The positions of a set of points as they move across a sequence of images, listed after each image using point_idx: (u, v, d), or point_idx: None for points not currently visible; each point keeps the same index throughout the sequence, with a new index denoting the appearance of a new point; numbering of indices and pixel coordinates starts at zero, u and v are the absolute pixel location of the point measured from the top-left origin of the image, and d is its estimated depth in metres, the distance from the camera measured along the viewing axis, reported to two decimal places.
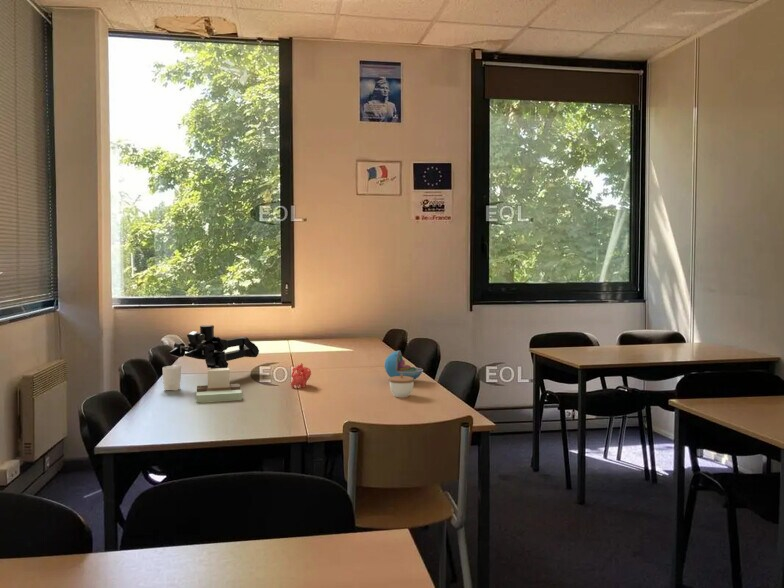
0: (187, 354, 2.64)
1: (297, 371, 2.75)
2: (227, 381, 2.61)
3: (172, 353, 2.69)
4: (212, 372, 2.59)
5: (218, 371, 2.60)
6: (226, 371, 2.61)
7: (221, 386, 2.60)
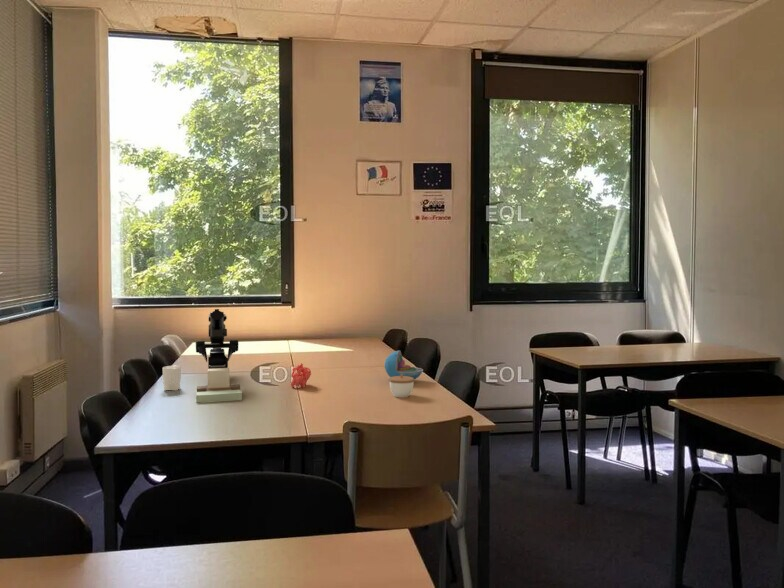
0: (229, 358, 2.73)
1: (297, 371, 2.75)
2: (227, 381, 2.61)
3: None
4: (212, 372, 2.59)
5: (218, 371, 2.60)
6: (226, 371, 2.61)
7: (221, 386, 2.60)
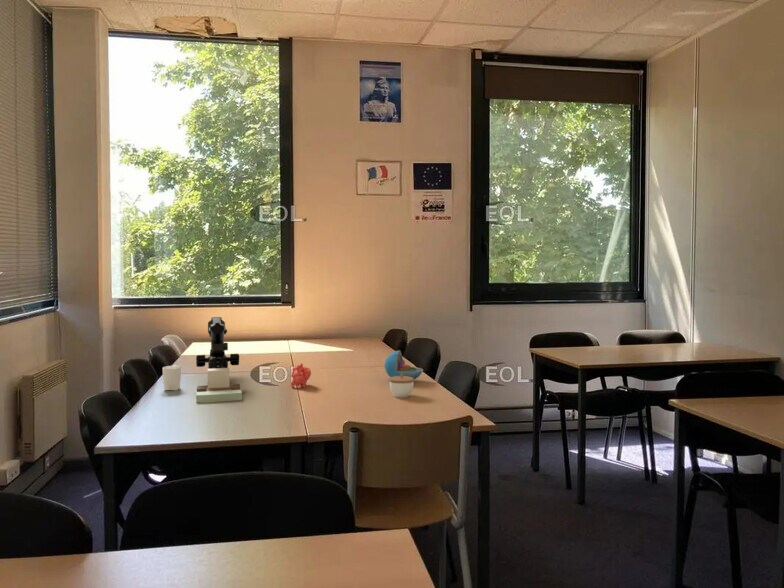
0: None
1: (297, 371, 2.75)
2: (227, 381, 2.61)
3: None
4: (212, 372, 2.59)
5: (218, 371, 2.60)
6: (226, 371, 2.61)
7: (221, 386, 2.60)
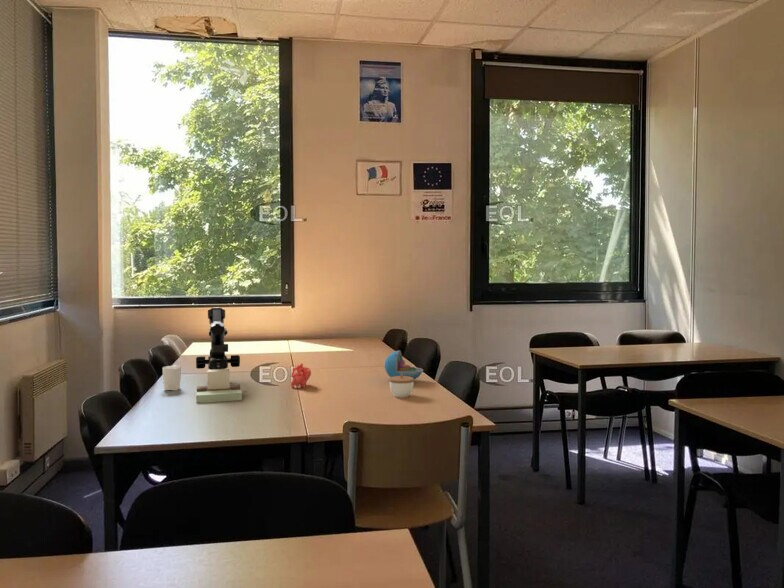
0: None
1: (297, 371, 2.75)
2: (227, 382, 2.59)
3: None
4: (212, 373, 2.57)
5: (218, 372, 2.57)
6: (226, 372, 2.58)
7: (221, 387, 2.58)
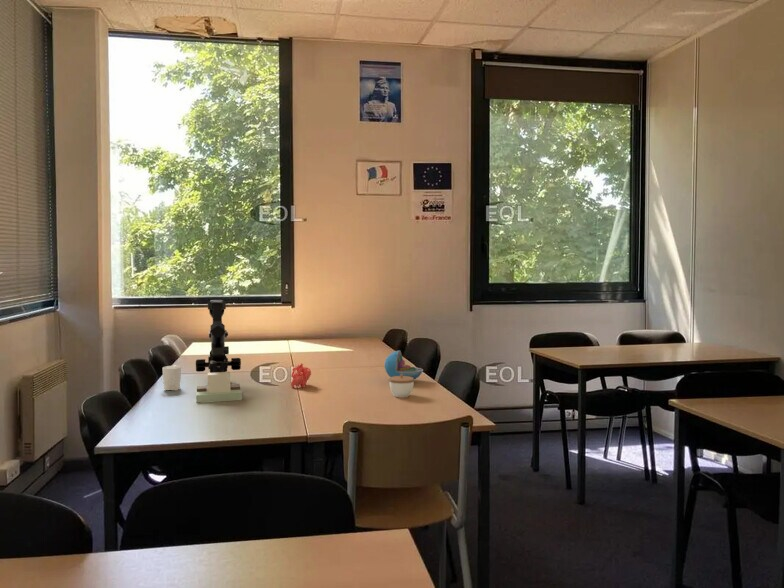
0: None
1: (297, 371, 2.75)
2: (228, 386, 2.52)
3: None
4: (212, 376, 2.50)
5: (218, 375, 2.50)
6: (227, 375, 2.51)
7: (222, 391, 2.51)
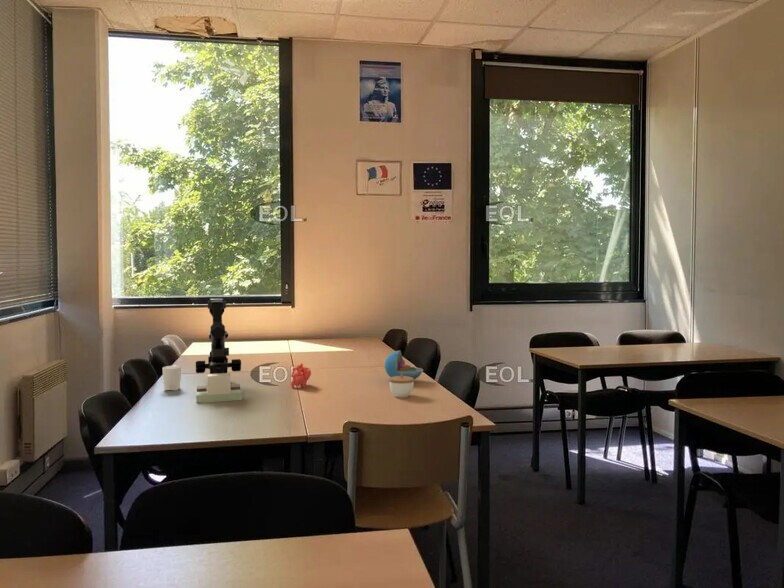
0: None
1: (297, 371, 2.75)
2: (228, 387, 2.49)
3: None
4: (212, 378, 2.47)
5: (219, 377, 2.48)
6: (227, 376, 2.49)
7: (222, 392, 2.49)
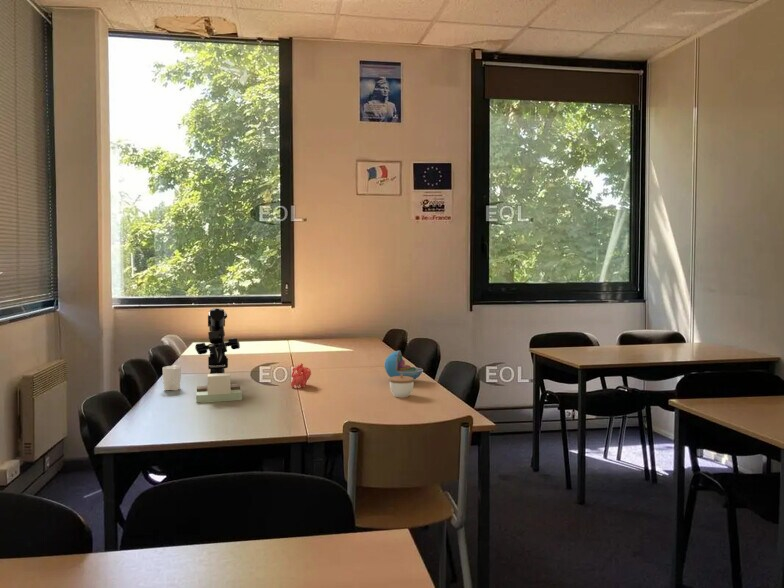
0: (219, 360, 2.69)
1: (297, 371, 2.75)
2: (228, 387, 2.49)
3: None
4: (212, 378, 2.47)
5: (219, 377, 2.48)
6: (227, 376, 2.49)
7: (222, 392, 2.49)
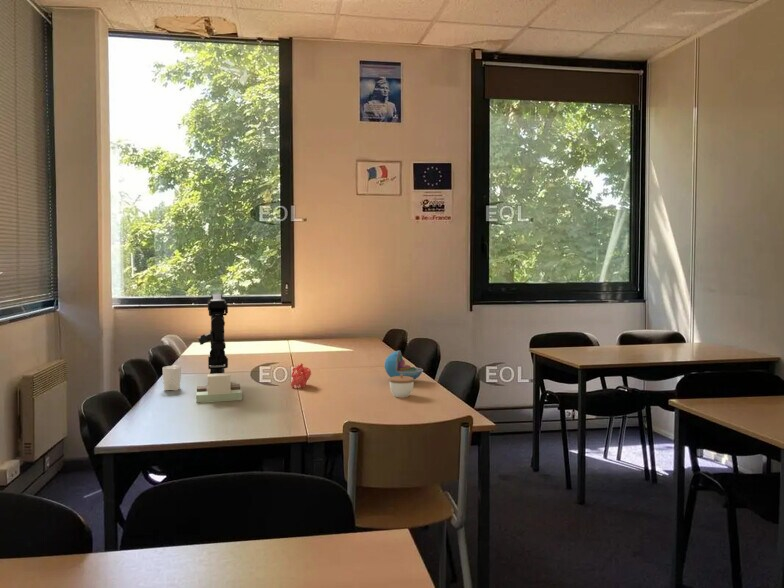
0: (217, 359, 2.72)
1: (297, 371, 2.75)
2: (228, 387, 2.49)
3: None
4: (212, 378, 2.47)
5: (219, 377, 2.48)
6: (227, 376, 2.49)
7: (222, 392, 2.49)
